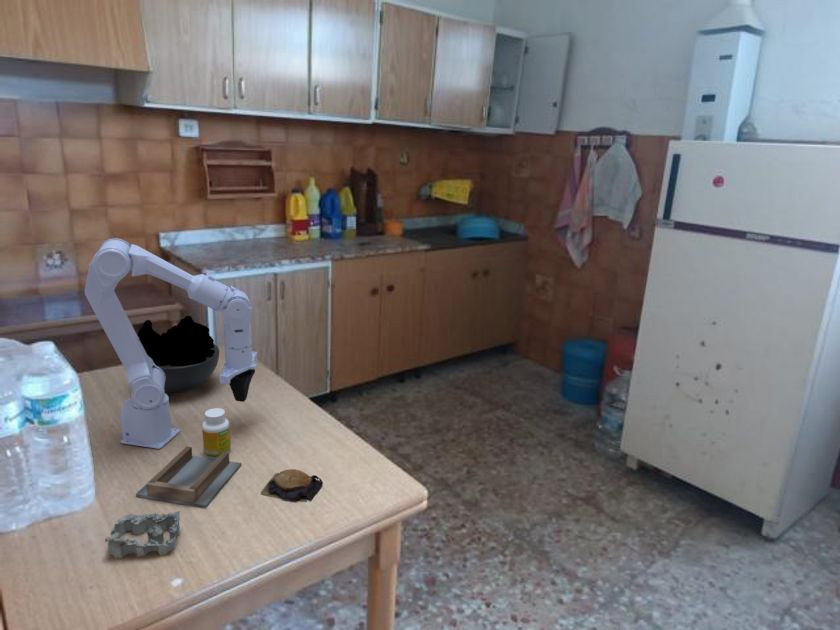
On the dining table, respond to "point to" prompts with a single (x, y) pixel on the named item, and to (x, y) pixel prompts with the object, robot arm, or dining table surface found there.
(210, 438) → the supplement bottle
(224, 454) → the cradle
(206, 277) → the robot arm
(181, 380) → the bowl of black rocks
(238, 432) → the dining table surface
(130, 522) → the egg carton
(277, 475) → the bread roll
